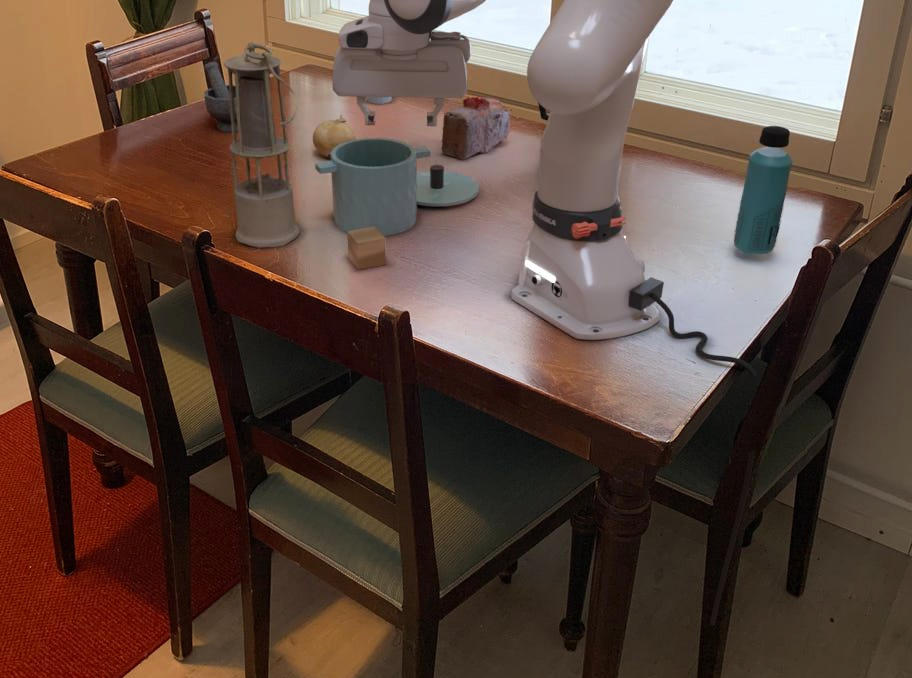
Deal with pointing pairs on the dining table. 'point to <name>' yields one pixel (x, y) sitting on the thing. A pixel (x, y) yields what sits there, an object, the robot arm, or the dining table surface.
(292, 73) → the dining table surface
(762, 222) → the beverage bottle
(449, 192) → the pot lid
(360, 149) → the pot
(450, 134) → the food item
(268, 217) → the lamp
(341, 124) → the onion
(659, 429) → the dining table surface
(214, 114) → the mortar and pestle
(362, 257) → the block
